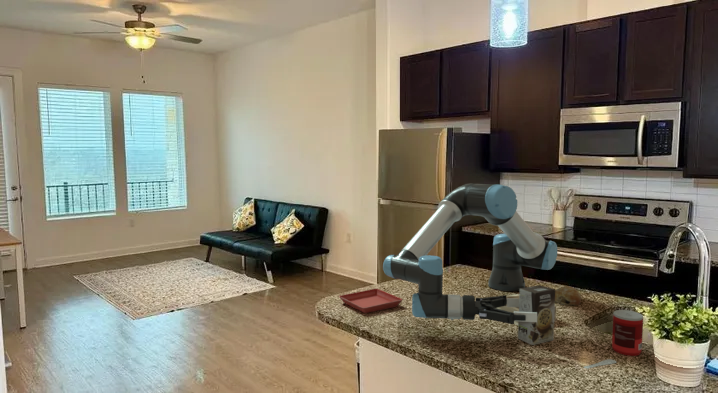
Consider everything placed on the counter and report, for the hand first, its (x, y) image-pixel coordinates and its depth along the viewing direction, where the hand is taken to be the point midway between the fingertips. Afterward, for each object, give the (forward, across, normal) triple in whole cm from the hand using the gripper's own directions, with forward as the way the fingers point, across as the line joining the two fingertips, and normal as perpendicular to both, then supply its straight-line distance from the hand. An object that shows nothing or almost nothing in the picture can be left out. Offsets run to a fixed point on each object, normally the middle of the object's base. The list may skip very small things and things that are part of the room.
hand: (532, 310), depth 151 cm
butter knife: (+10, +19, -10) cm, 24 cm away
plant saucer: (-54, -28, -10) cm, 61 cm away
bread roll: (+21, -43, -10) cm, 49 cm away
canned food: (+26, +5, -10) cm, 28 cm away
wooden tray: (+1, -23, -9) cm, 25 cm away
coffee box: (+1, 0, -10) cm, 10 cm away
